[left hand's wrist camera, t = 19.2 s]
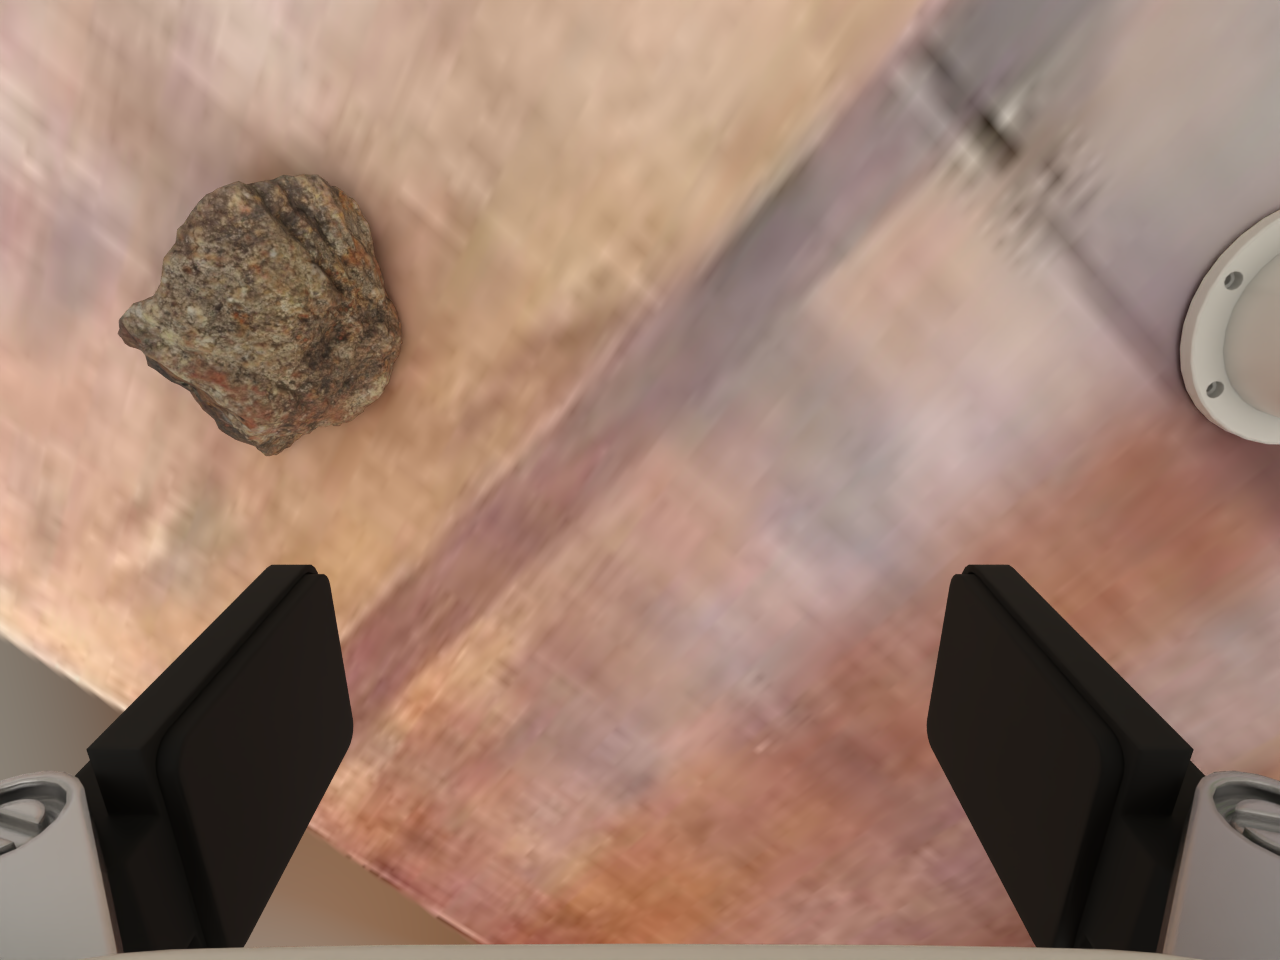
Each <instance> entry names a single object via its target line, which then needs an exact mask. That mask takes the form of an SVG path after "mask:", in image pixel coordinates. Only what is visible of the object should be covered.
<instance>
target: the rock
mask: <svg viewBox="0 0 1280 960" xmlns="http://www.w3.org/2000/svg"><path fill="white" fill-rule="evenodd" d="M119 328H120V329H119V331H118V335H119V336H120V337H121V338H122V339H123V341H124V343H125V344H127V345H128V346H130V347H133V348H137V349H139V350H141V351H142V352H143V353H144V354H145V356H146V359H147V364H148V366H150V367H151V368H153V369H155V370H156V371H158V372H159V373H160V374H162V375H163V376H164V377H165V378H167V379H168V380H170V381H171V382H174V383H176V384H179V385H181V386H182V387H184V388H185V389H187V390H189V391H190V392H191V394H192V395H193V397H194V398H195V400H196V401H197V402H198V403H199V405H200V406H201V408H202V409H203V410H204V411H205V412H207V413H208V414H209V415H210V416H211V417H212V418H213V419H214V420H215V421H216V424H217V426H218V428H219V429H220V430H221V431H222V432H224V433H226V434H227V435H229V436H231V437H232V438H234V439H236V440H238V441H241V442H244V443H247V444H250V445H253V446H255V447H256V448H257V449H258V450H260V451H261V452H262V453H263V454H264V455H265V456H271V455H277V454H279V453H280V452H282V451H283V449H285V448H288V447H290V446H291V445H292V444H293V442H294V441H296V440H297V439H299V438H300V437H301V436H302V435H303V434H309V433H310V432H311V431H312V430H313V429H316V428H317V427H319V426H321V427H327V426H329V425H333V426H340V425H341V424H342V423H345V422H349V421H351V420H353V419H354V418H355V417H356V416H357V415H359V414H360V413H362V412H363V411H364V409H365V408H366V407H367V406H368V405H370V404H371V403H373V402H374V401H376V400H377V399H378V398H379V397H380V395H381V394H383V393H384V388H385V386H386V385H387V384H388V383H389V379H390V375H391V372H392V370H393V366H392V365H393V364H394V362H395V360H396V359H397V358H398V356H399V353H400V345H401V344H402V338H401V323H400V322H399V320H398V315H397V311H396V309H395V307H394V305H393V304H392V302H391V300H389V298H388V296H387V293H386V291H385V288H384V280H383V277H382V275H381V270H380V267H379V265H378V262H377V260H376V257H375V254H374V248H373V240H372V237H371V232H370V227H369V225H368V223H367V221H366V220H365V219H364V217H363V216H362V213H361V211H360V209H359V206H358V204H357V203H356V202H355V201H354V199H352V198H350V197H348V196H347V195H346V194H345V193H344V192H343V191H341V190H340V189H339V188H337V187H336V186H330V185H329V184H328V182H327V181H325V180H324V179H323V178H321V177H320V176H319V175H307V174H302V175H298V176H295V177H294V176H287V175H282V176H280V177H278V178H276V179H274V180H268V181H261V182H257V183H252V184H247V185H246V184H244V183H241V182H239V181H238V182H235V183H232V184H229V185H226V186H223V187H220V188H218V189H216V190H215V191H213V192H212V193H209V194H207V195H206V196H205V197H204V198H203V199H202V200H201V201H200V202H199V203H198V204H197V205H196V207H195V208H194V209H193V210H192V212H191V213H190V215H189V216H188V218H187V220H186V221H185V223H184V224H183V225H182V226H181V227H180V228H178V229H177V237H176V243H175V244H174V246H173V247H172V248H171V250H170V251H169V252H168V253H167V255H166V256H165V257H164V260H163V268H162V276H161V284H160V286H159V287H158V289H157V291H156V293H155V295H154V296H152V297H150V298H147V299H145V300H143V301H140V302H137V303H133V305H132V306H131V307H130V308H129V309H128V310H127V311H126V313H125V314H124V315H123V316H122V317H121V318H120V319H119Z"/></svg>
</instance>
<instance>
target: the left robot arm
mask: <svg viewBox="0 0 1280 960" xmlns="http://www.w3.org/2000/svg"><path fill="white" fill-rule="evenodd" d="M1180 363H1181V372H1182V376H1183V379H1184V383H1185V387H1186V390H1187V392H1188V394H1189V395H1190V397H1191V399H1192V401H1193V402H1194V404H1195V406H1196V407H1197V408H1198V409H1199V411H1200V412H1201V413H1202V414H1203V415H1204V416H1205V417H1206V418H1207V419H1208V420H1209V421H1210V422H1212V423H1214V424H1215V425H1217V426H1218V427H1220V428H1222V429H1223V430H1225V431H1227V432H1229V433H1232V434H1234V435H1237V436H1239V437H1242V438H1244V439H1247V440H1251V441H1255V442H1259V443H1264V444H1279V445H1280V210H1278V211H1276V212H1274V213H1273V214H1271V215H1269V216H1267V217H1265V218H1263V219H1262V220H1261V221H1259V222H1258V223H1257V224H1255V225H1254V226H1253V227H1251V228H1250V229H1249V230H1247V231H1246V232H1245V233H1243V234H1242V235H1241V236H1240V237H1239V238H1238V239H1237V240H1236V241H1235V242H1234V243H1233V244H1232V245H1231V246H1230V247H1229V248H1228V249H1227V250H1226V251H1225V252H1224V253H1223V254H1222V255H1221V256H1220V257H1219V258H1218V260H1217V261H1216V262H1215V264H1214V265H1213V266H1212V268H1211V269H1210V270H1209V272H1208V273H1207V274H1206V276H1205V277H1204V279H1203V280H1202V282H1201V284H1200V286H1199V288H1198V290H1197V292H1196V294H1195V295H1194V297H1193V299H1192V301H1191V304H1190V307H1189V310H1188V313H1187V316H1186V318H1185V321H1184V324H1183V330H1182V337H1181V343H1180ZM352 734H353V718H352V712H351V706H350V700H349V694H348V688H347V682H346V676H345V670H344V664H343V658H342V652H341V647H340V641H339V635H338V629H337V623H336V617H335V611H334V605H333V599H332V593H331V587H330V583H329V579H328V578H327V576H326V575H324V574H318V572H317V571H316V569H315V567H313V566H312V565H270V566H269V567H267V568H266V569H265V570H264V571H263V572H262V573H261V574H260V575H259V576H258V577H257V578H256V579H255V580H254V581H253V582H252V583H251V584H250V585H249V586H248V587H247V588H246V589H245V590H244V591H243V592H242V593H241V594H240V595H239V597H238V598H237V599H236V600H235V601H234V602H233V603H232V604H231V605H230V606H229V607H228V608H227V609H226V610H225V611H224V612H223V613H222V614H221V615H220V616H219V617H218V618H217V619H216V620H215V621H214V622H213V623H212V624H211V625H210V626H209V627H208V628H207V629H206V630H205V631H204V632H203V633H202V634H201V635H200V636H199V637H198V638H197V639H196V640H195V641H194V642H193V643H192V644H191V645H190V646H189V647H188V648H187V649H186V650H185V651H184V652H183V653H182V654H181V655H180V656H179V657H178V658H177V659H176V660H175V661H174V662H173V663H172V664H171V665H170V666H169V667H168V668H167V669H166V670H165V671H164V672H163V673H162V674H161V675H160V676H159V677H158V678H157V679H156V680H155V681H154V682H153V683H152V684H151V685H150V686H149V687H148V688H147V689H146V690H145V691H144V692H143V693H142V694H141V695H140V696H139V697H138V698H137V699H136V700H135V701H134V702H133V703H132V704H131V705H130V706H129V707H128V708H127V709H126V710H125V711H124V712H123V713H122V714H121V715H120V716H119V717H118V718H117V719H116V720H115V721H114V722H113V723H112V724H111V725H110V726H109V727H108V728H107V729H106V730H105V731H104V732H103V733H102V734H101V735H100V736H99V737H98V738H97V739H96V740H95V741H94V742H93V743H92V744H91V745H90V746H89V747H88V748H87V752H88V755H89V758H90V761H89V762H88V763H87V764H86V765H85V766H84V767H83V768H82V769H81V770H80V771H79V772H78V773H77V774H76V775H75V776H73V775H70V774H68V773H66V772H55V771H42V772H35V773H28V774H23V775H19V776H16V777H12V778H9V779H6V780H2V781H0V960H1280V781H1278V780H1274V779H1271V778H1268V777H1264V776H1261V775H1258V774H1252V773H1245V772H1238V771H1224V772H1214V773H1212V774H1210V775H1207V776H1205V775H1204V774H1203V773H1202V772H1201V771H1200V770H1199V769H1198V768H1197V767H1196V766H1195V765H1194V764H1193V763H1192V762H1191V761H1190V759H1191V755H1192V752H1193V748H1192V747H1191V746H1190V745H1189V744H1188V743H1187V742H1186V741H1185V740H1184V739H1183V738H1182V737H1181V736H1180V735H1179V734H1178V733H1177V732H1176V731H1175V730H1174V729H1173V728H1172V727H1171V726H1170V725H1169V724H1168V723H1167V722H1166V721H1165V720H1164V719H1163V718H1162V717H1161V716H1160V715H1159V714H1158V713H1157V712H1156V711H1155V710H1154V709H1153V708H1152V707H1151V706H1150V705H1149V704H1148V703H1147V702H1146V701H1145V700H1144V699H1143V698H1142V697H1141V696H1140V695H1139V694H1138V693H1137V692H1136V691H1135V690H1134V689H1133V688H1132V687H1131V686H1130V685H1129V684H1128V683H1127V682H1126V681H1125V680H1124V679H1123V678H1122V677H1121V676H1120V675H1119V674H1118V673H1117V672H1116V671H1115V670H1114V669H1113V668H1112V667H1111V666H1110V665H1109V664H1108V663H1107V662H1106V661H1105V660H1104V659H1103V658H1102V657H1101V656H1100V655H1099V654H1098V653H1097V652H1096V651H1095V650H1094V649H1093V648H1092V647H1091V646H1090V645H1089V644H1088V643H1087V642H1086V641H1085V640H1084V639H1083V638H1082V637H1081V636H1080V635H1079V634H1078V633H1077V632H1076V631H1075V630H1074V629H1073V628H1072V627H1071V626H1070V625H1069V624H1068V623H1067V622H1066V621H1065V620H1064V619H1063V618H1062V617H1061V616H1060V615H1059V614H1058V613H1057V612H1056V611H1055V610H1054V609H1053V608H1052V607H1051V606H1050V605H1049V604H1048V603H1047V602H1046V601H1045V600H1044V599H1043V598H1042V596H1041V595H1040V594H1039V593H1038V592H1037V591H1036V590H1035V589H1034V588H1033V587H1032V586H1031V585H1030V584H1029V583H1028V582H1027V581H1026V580H1025V579H1024V578H1023V577H1022V576H1021V575H1020V574H1019V573H1018V572H1017V571H1016V570H1015V569H1014V568H1013V567H1011V566H1010V565H968V566H967V567H965V569H964V571H963V572H962V574H956V575H954V576H953V578H952V579H951V583H950V587H949V593H948V599H947V605H946V611H945V617H944V623H943V629H942V635H941V641H940V647H939V652H938V658H937V664H936V670H935V676H934V682H933V688H932V694H931V700H930V706H929V712H928V718H927V734H928V739H929V743H930V746H931V748H932V750H933V752H934V754H935V756H936V758H937V759H938V761H939V763H940V765H941V767H942V769H943V771H944V773H945V775H946V777H947V779H948V780H949V782H950V784H951V786H952V788H953V790H954V792H955V794H956V796H957V798H958V799H959V801H960V803H961V805H962V807H963V809H964V811H965V813H966V815H967V817H968V819H969V820H970V822H971V824H972V826H973V828H974V830H975V832H976V834H977V836H978V838H979V840H980V841H981V843H982V845H983V847H984V849H985V851H986V853H987V855H988V857H989V859H990V860H991V862H992V864H993V866H994V868H995V870H996V872H997V874H998V876H999V878H1000V880H1001V881H1002V883H1003V885H1004V887H1005V889H1006V891H1007V893H1008V895H1009V897H1010V899H1011V900H1012V902H1013V904H1014V906H1015V908H1016V910H1017V912H1018V914H1019V916H1020V918H1021V920H1022V921H1023V923H1024V925H1025V927H1026V929H1027V931H1028V933H1029V935H1030V937H1031V939H1032V940H1033V942H1034V944H1035V945H1036V947H989V946H918V945H772V944H508V945H364V946H363V945H362V946H291V947H244V945H245V944H246V942H247V940H248V939H249V937H250V935H251V933H252V931H253V929H254V927H255V925H256V923H257V921H258V919H259V918H260V916H261V914H262V912H263V910H264V908H265V906H266V904H267V902H268V900H269V899H270V897H271V895H272V893H273V891H274V889H275V887H276V885H277V883H278V881H279V880H280V878H281V876H282V874H283V872H284V870H285V868H286V866H287V864H288V862H289V860H290V859H291V857H292V855H293V853H294V851H295V849H296V847H297V845H298V843H299V841H300V840H301V838H302V836H303V834H304V832H305V830H306V828H307V826H308V824H309V822H310V820H311V819H312V817H313V815H314V813H315V811H316V809H317V807H318V805H319V803H320V801H321V799H322V798H323V796H324V794H325V792H326V790H327V788H328V786H329V784H330V782H331V780H332V779H333V777H334V775H335V773H336V771H337V769H338V767H339V765H340V763H341V761H342V759H343V758H344V756H345V754H346V752H347V750H348V748H349V746H350V743H351V739H352Z"/></svg>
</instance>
